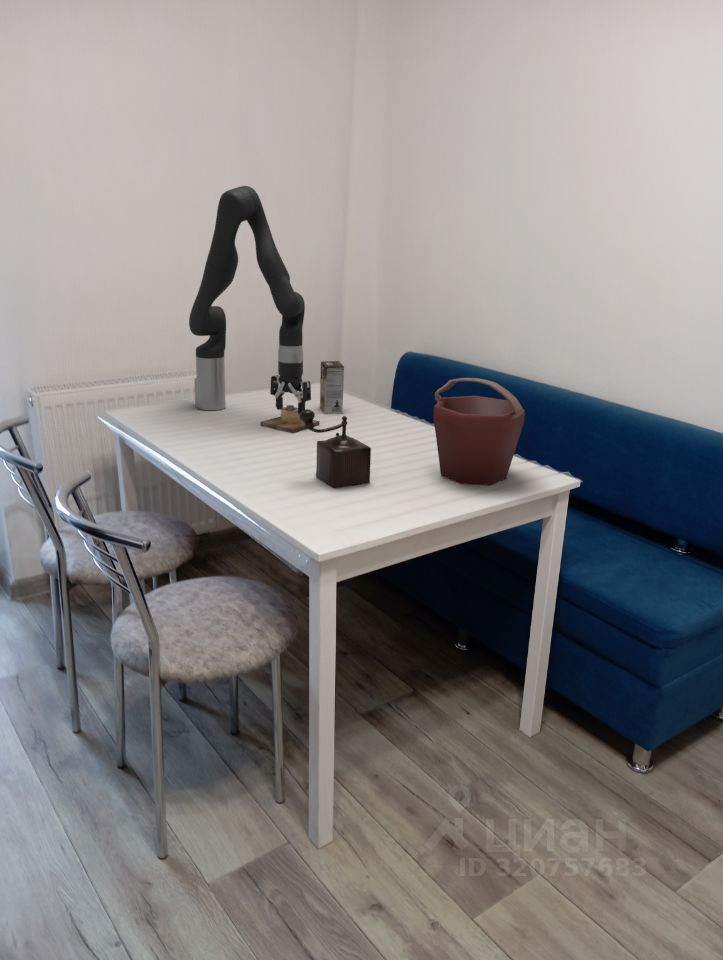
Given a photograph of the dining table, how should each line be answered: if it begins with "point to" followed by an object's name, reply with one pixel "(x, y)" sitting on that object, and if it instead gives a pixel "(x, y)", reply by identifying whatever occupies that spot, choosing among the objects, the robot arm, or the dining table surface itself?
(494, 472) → the bucket
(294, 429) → the post stand
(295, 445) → the dining table surface
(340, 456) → the manual coffee grinder
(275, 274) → the robot arm
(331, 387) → the coffee box
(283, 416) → the gold octagonal ring
